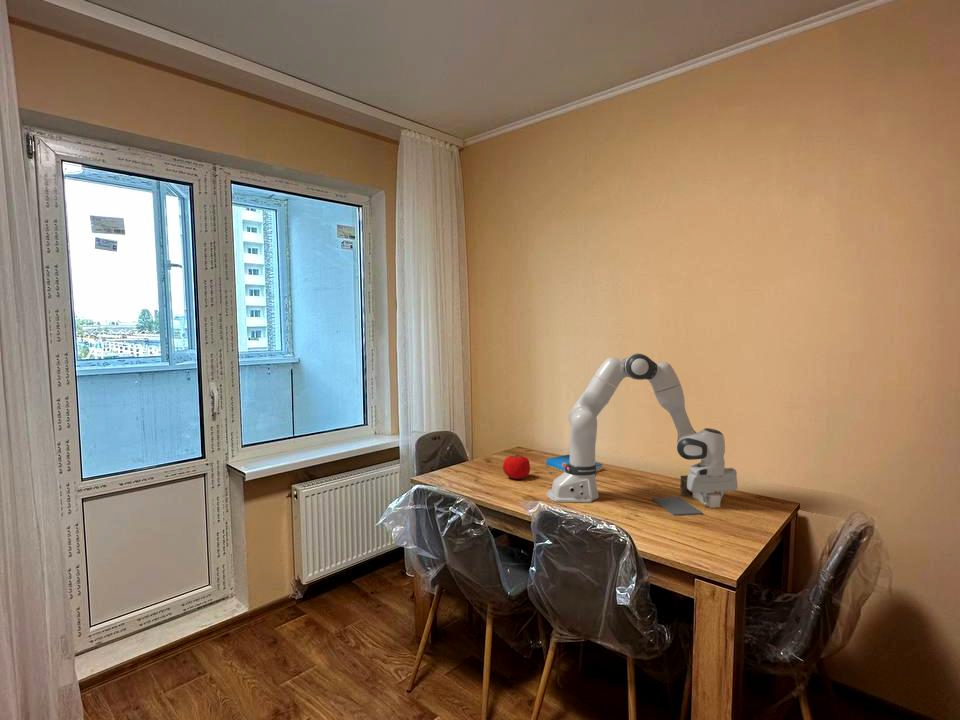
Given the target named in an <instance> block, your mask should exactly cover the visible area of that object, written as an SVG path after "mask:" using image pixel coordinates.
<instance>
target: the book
mask: <svg viewBox="0 0 960 720" xmlns="http://www.w3.org/2000/svg"><path fill="white" fill-rule="evenodd" d="M569 462H570V454H566V455H559V456H554V457H549V458H546V461H545V464H546V465H547V466H548V465H550V466H549V467H551V466H553V468H554V467H556V468H555V469H557V468H559V469H558V470H560V469H562V470H561V471H563V470H565V468H563V466H562V464H563V463H566V464H568V463H569ZM595 464H596V469H597V471H599V470H602V471H603V463H600V462H597V461H595ZM599 472H600V471H599Z"/></svg>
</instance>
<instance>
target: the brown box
mask: <svg viewBox="0 0 960 720" xmlns="http://www.w3.org/2000/svg"><path fill="white" fill-rule="evenodd" d="M688 475H689V474H687V475H680V486H679V487H680V490H679V492H680V494H681V495H682V496H693V492H691V491H689V490H688V489H687V478H688ZM715 493H717V494H718V491H717V492H715ZM680 494H679V495H680ZM681 495H680V496H681Z"/></svg>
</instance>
